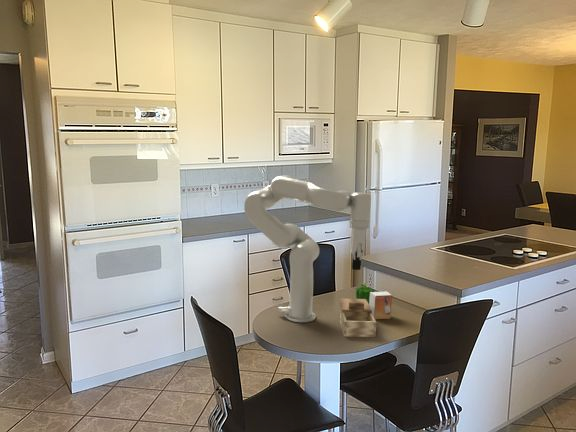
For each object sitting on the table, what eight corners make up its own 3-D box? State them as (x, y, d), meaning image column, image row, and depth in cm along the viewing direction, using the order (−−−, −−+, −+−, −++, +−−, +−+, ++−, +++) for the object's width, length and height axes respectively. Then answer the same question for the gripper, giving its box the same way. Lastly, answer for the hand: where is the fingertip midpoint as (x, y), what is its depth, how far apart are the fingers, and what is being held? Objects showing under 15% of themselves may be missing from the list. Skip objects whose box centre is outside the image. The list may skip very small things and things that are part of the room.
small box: (373, 320, 202) (375, 295, 201) (368, 315, 208) (369, 291, 206) (391, 318, 204) (392, 294, 203) (385, 314, 210) (386, 290, 208)
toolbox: (344, 336, 184) (344, 321, 183) (339, 322, 198) (340, 308, 197) (375, 337, 184) (376, 322, 183) (369, 323, 198) (369, 309, 197)
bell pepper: (377, 307, 218) (378, 285, 217) (361, 309, 215) (362, 287, 214) (367, 301, 226) (369, 280, 224) (352, 303, 223) (353, 282, 221)
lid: (341, 311, 193) (342, 303, 192) (337, 300, 207) (338, 292, 206) (371, 312, 193) (372, 304, 192) (365, 300, 207) (366, 293, 206)
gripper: (348, 220, 197) (345, 264, 200) (351, 226, 182) (348, 273, 185) (366, 221, 197) (363, 265, 199) (371, 227, 182) (368, 275, 185)
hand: (356, 269), depth 192 cm, fingers closed
